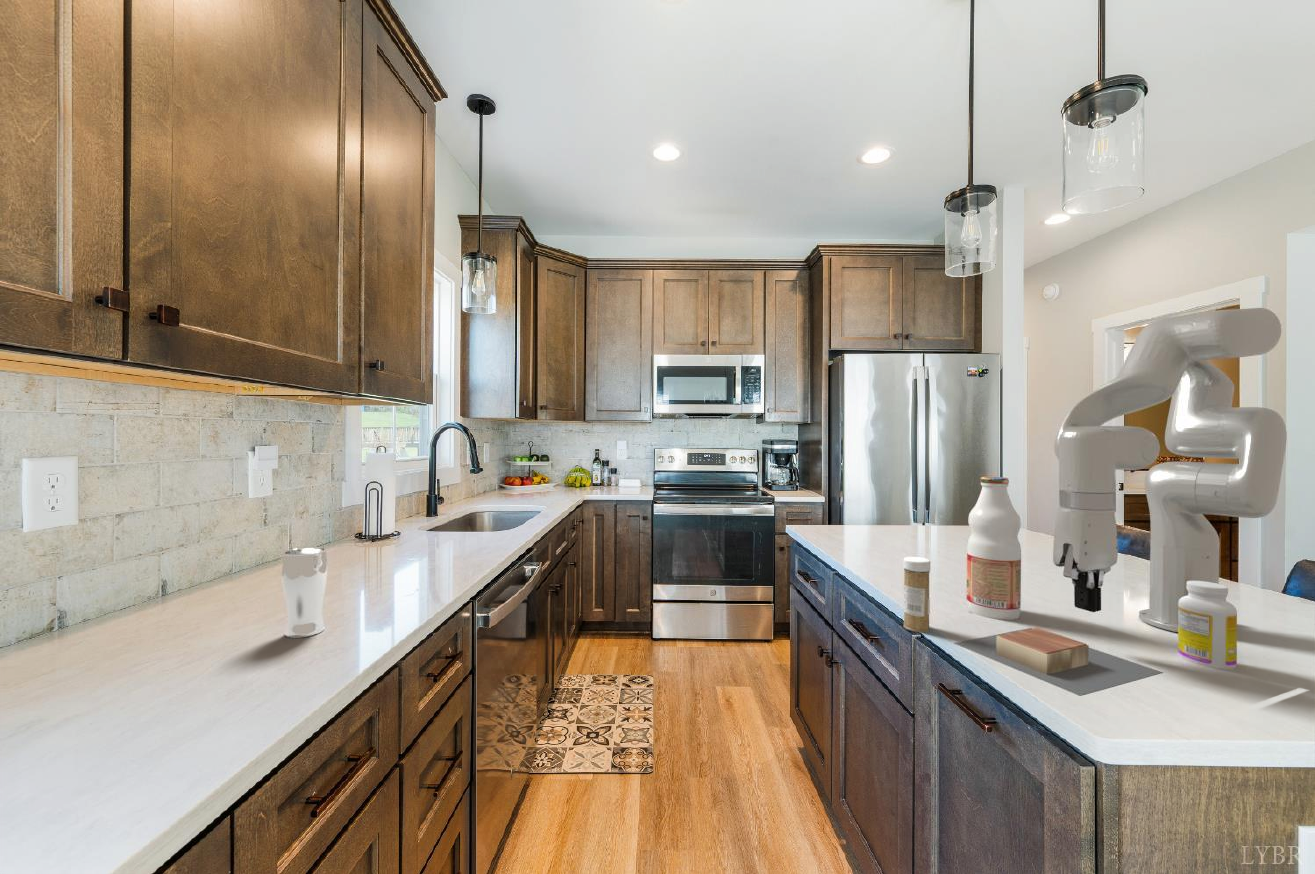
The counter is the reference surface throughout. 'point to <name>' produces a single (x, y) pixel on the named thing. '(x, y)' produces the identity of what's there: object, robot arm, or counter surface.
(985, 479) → the fruit juice
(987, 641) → the rubber mat
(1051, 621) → the counter surface
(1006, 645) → the birch tile
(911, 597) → the sprinkles bottle
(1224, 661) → the supplement bottle
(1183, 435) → the robot arm
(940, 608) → the counter surface
